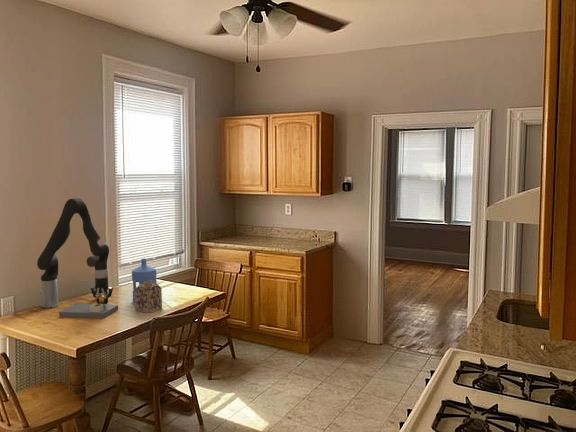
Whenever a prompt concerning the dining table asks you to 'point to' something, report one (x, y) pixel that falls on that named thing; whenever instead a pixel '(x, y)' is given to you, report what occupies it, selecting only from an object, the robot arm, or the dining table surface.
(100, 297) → the orange rounded piece
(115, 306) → the board
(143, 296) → the decorative jar
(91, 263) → the rubber mallet
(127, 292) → the dining table surface
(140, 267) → the water jug
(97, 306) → the white boxy piece
